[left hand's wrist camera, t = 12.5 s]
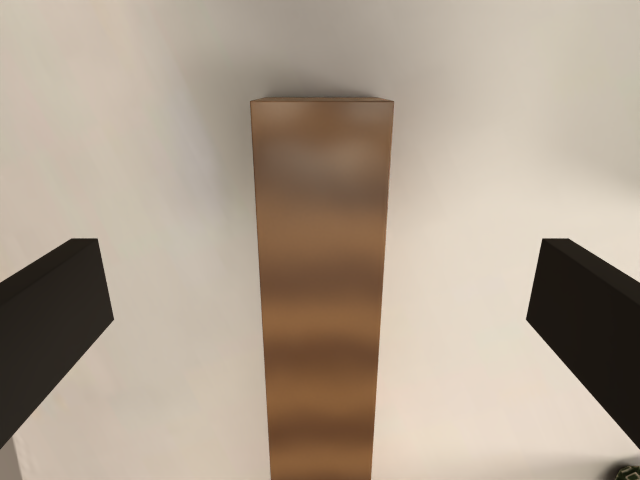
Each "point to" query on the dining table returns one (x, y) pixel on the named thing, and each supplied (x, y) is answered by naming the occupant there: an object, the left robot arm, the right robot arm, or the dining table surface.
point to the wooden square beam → (321, 277)
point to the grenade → (629, 473)
